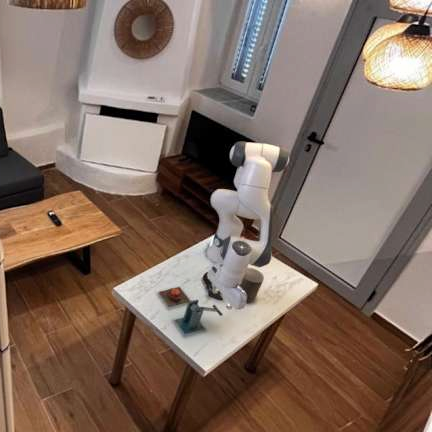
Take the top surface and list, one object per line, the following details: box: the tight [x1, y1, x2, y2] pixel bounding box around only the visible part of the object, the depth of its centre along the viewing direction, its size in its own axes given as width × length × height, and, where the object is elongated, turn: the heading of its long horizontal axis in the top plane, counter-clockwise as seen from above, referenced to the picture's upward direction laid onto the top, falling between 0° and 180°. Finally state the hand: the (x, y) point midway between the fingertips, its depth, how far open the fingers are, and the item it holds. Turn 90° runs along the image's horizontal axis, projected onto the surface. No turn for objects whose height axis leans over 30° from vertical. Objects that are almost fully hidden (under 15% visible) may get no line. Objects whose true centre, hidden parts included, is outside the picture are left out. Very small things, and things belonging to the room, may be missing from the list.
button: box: [171, 288, 180, 297], centre depth 185 cm, size 4×4×2 cm
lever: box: [190, 303, 223, 317], centre depth 170 cm, size 16×6×2 cm, turn 109°
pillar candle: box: [240, 267, 265, 304], centre depth 184 cm, size 10×10×15 cm
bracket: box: [174, 299, 206, 335], centre depth 170 cm, size 10×8×14 cm
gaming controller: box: [206, 283, 224, 302], centre depth 189 cm, size 10×5×6 cm
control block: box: [158, 286, 191, 307], centre depth 186 cm, size 11×9×4 cm
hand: (221, 300), depth 169 cm, fingers open, 8 cm apart
